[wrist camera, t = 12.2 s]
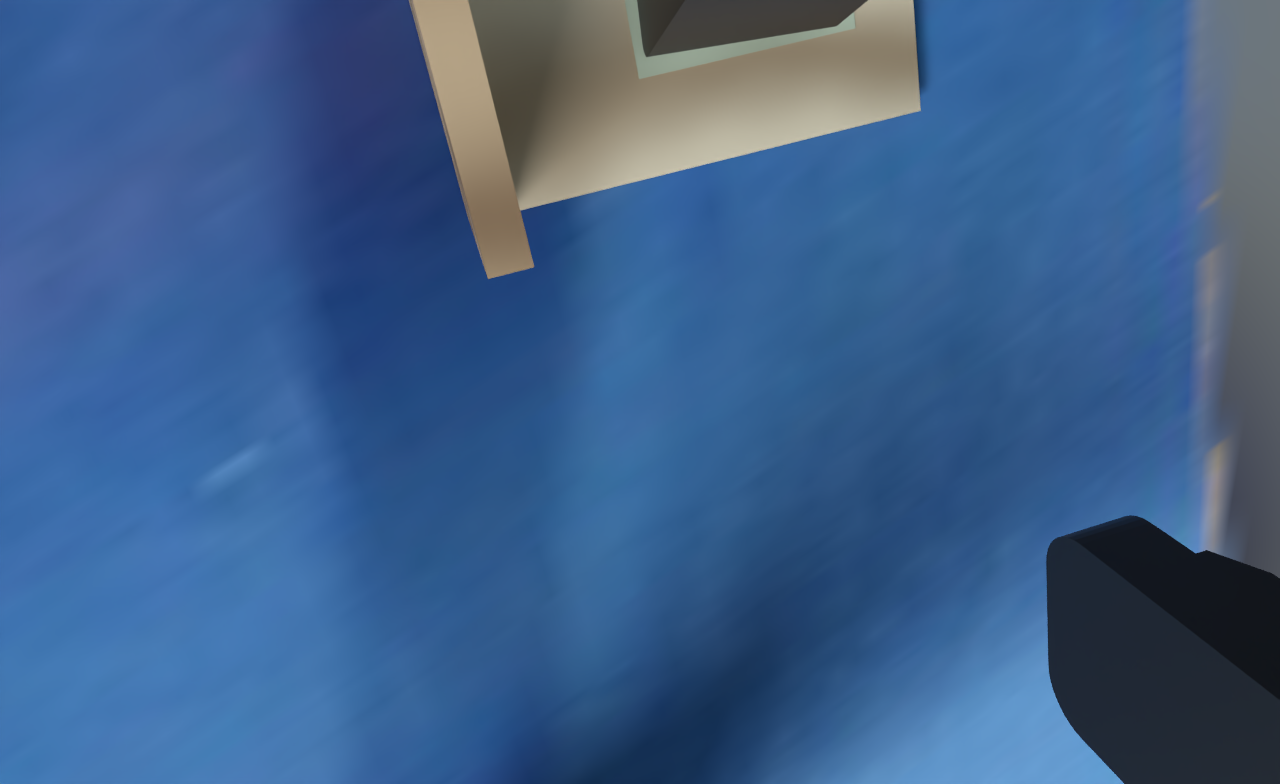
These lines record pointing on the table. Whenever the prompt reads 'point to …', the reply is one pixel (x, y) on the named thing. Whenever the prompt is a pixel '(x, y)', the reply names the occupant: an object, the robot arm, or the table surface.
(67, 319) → the table surface
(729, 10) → the phone stand
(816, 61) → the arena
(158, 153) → the table surface
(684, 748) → the table surface
